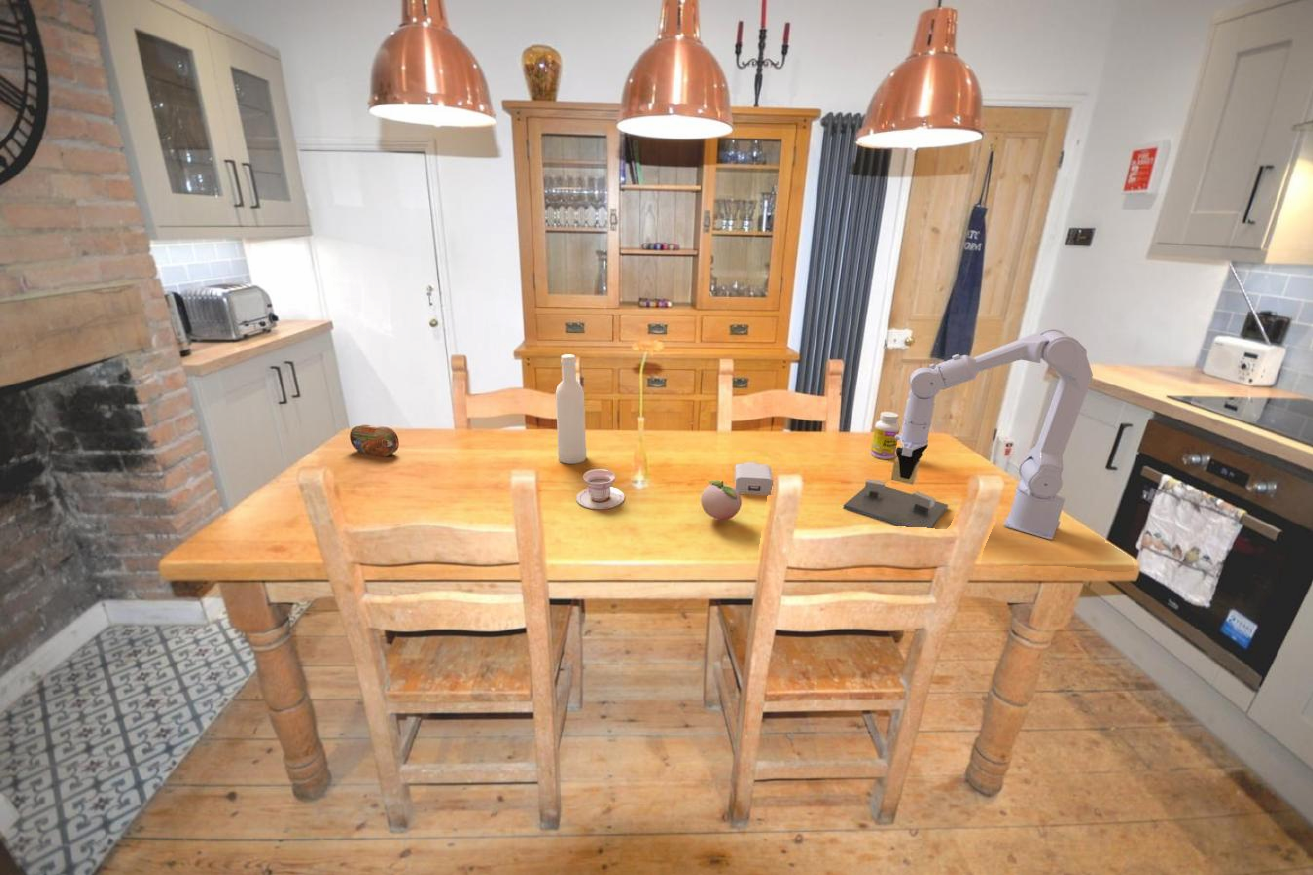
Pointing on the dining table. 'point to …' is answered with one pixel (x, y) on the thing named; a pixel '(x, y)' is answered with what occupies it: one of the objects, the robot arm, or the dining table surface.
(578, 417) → the bottle
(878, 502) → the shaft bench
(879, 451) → the supplement bottle
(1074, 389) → the robot arm
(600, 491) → the teacup
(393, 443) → the tin
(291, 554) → the dining table surface
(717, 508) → the decorative fruit
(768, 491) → the charger
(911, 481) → the block
